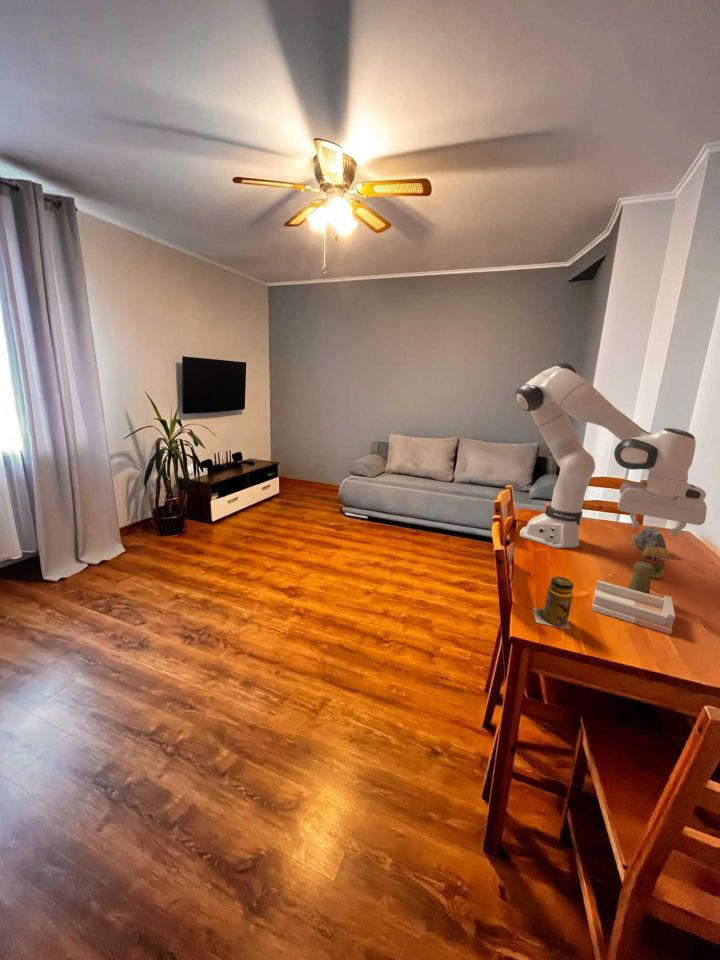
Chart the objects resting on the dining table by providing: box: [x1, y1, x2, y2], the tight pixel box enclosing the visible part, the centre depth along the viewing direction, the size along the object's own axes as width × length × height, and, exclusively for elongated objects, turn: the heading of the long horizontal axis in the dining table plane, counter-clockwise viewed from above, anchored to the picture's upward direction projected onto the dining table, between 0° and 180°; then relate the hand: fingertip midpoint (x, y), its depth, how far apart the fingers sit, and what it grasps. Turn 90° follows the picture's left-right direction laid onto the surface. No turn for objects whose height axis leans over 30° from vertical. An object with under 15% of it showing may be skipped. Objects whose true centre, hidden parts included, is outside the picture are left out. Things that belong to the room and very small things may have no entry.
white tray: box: [591, 579, 676, 636], centre depth 110 cm, size 18×14×5 cm
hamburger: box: [640, 541, 671, 579], centre depth 131 cm, size 8×7×12 cm
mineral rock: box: [632, 526, 667, 551], centre depth 152 cm, size 13×11×10 cm
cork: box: [627, 561, 655, 595], centre depth 117 cm, size 6×6×11 cm
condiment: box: [532, 576, 574, 630], centre depth 103 cm, size 7×8×12 cm
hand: (654, 531), depth 113 cm, fingers open, 8 cm apart
